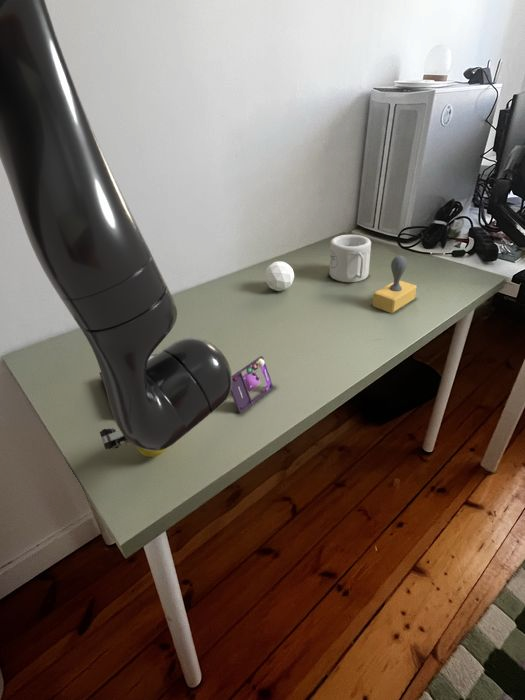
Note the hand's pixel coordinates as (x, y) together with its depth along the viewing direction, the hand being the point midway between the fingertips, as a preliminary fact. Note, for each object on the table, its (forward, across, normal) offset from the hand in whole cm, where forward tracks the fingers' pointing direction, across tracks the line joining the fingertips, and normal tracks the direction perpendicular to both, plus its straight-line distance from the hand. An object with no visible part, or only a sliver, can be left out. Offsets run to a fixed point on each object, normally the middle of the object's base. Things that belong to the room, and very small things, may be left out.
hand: (148, 428), depth 68 cm
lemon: (+2, 0, +4) cm, 5 cm away
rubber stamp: (+14, -66, -8) cm, 68 cm away
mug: (+26, -67, -20) cm, 75 cm away
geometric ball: (+30, -47, -24) cm, 61 cm away
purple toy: (+5, -19, +1) cm, 20 cm away
